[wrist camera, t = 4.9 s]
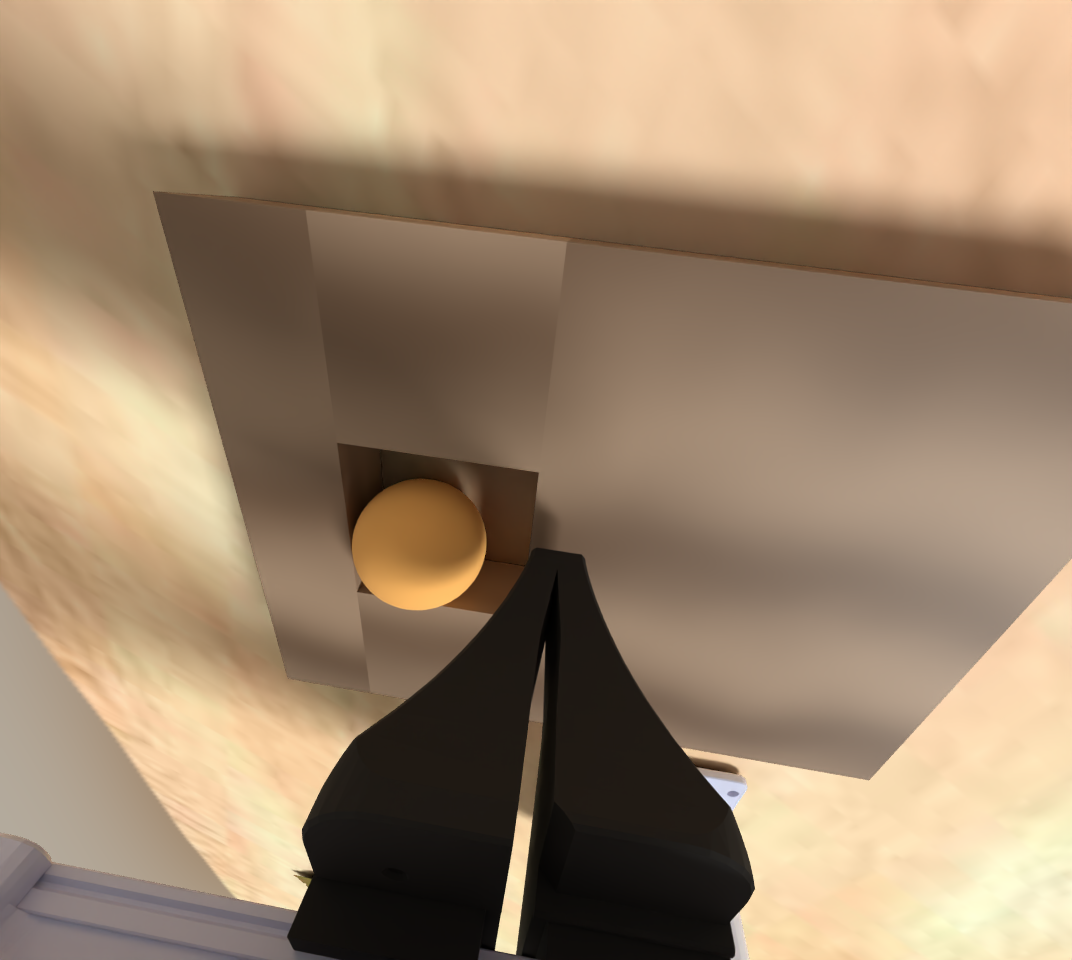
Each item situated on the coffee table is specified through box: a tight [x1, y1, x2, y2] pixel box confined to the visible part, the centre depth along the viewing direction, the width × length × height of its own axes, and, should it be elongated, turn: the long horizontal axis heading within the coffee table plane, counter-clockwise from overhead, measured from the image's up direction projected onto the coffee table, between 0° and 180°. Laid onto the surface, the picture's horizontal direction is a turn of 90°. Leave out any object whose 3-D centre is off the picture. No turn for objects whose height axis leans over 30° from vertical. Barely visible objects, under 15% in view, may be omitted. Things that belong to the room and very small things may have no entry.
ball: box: [352, 479, 486, 610], centre depth 14 cm, size 4×4×4 cm
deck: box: [153, 191, 1072, 780], centre depth 14 cm, size 16×22×2 cm
